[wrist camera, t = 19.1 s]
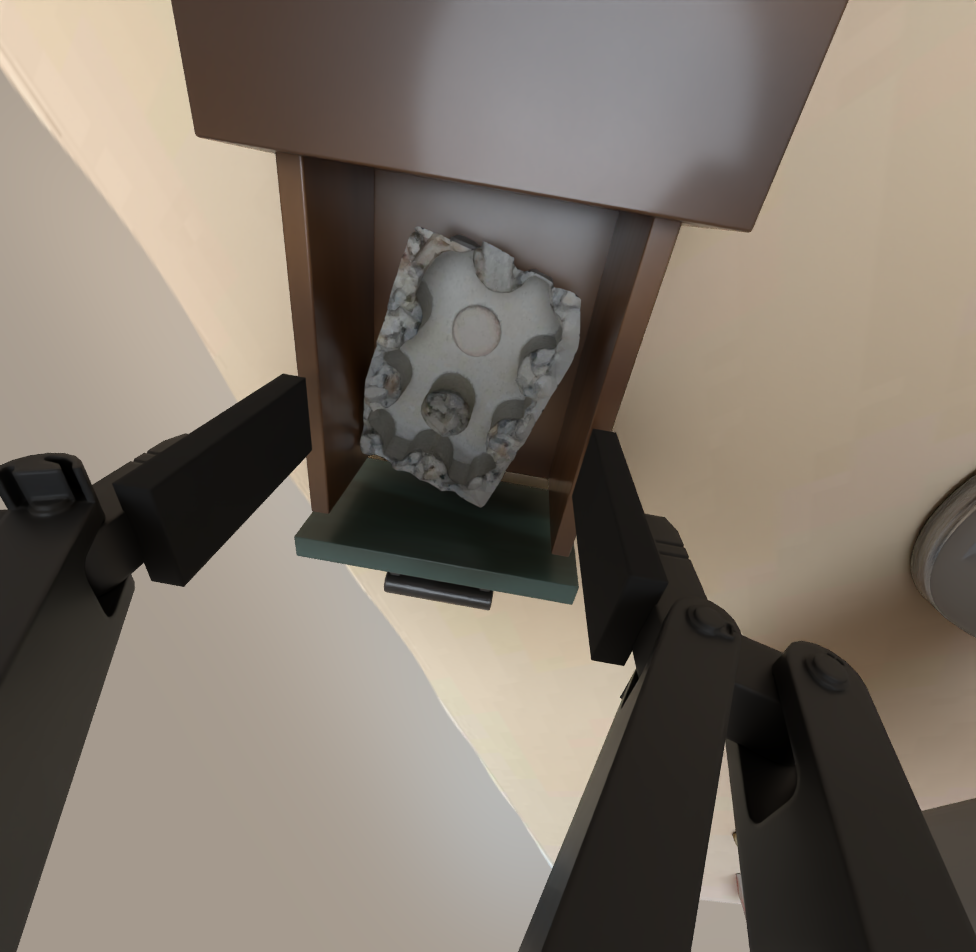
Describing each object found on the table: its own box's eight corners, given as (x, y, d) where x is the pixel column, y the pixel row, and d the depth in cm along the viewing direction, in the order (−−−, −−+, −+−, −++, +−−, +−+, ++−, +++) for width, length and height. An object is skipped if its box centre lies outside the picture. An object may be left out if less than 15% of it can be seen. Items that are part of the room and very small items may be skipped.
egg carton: (435, 208, 17) (409, 206, 14) (594, 295, 18) (607, 314, 15) (363, 421, 23) (332, 458, 19) (489, 478, 24) (481, 523, 20)
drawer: (548, 559, 28) (551, 660, 22) (356, 525, 28) (304, 616, 22) (673, 150, 16) (758, 114, 10) (343, 94, 16) (222, 22, 10)
